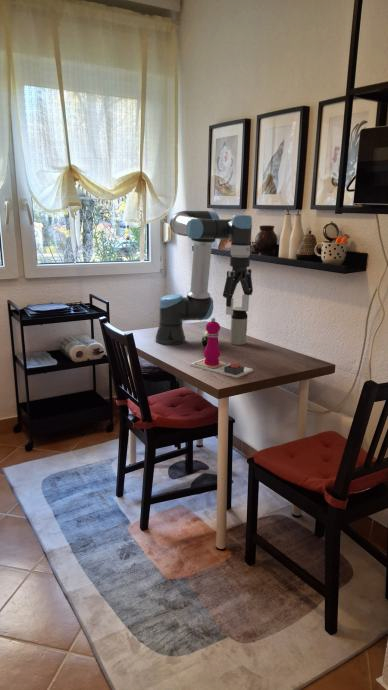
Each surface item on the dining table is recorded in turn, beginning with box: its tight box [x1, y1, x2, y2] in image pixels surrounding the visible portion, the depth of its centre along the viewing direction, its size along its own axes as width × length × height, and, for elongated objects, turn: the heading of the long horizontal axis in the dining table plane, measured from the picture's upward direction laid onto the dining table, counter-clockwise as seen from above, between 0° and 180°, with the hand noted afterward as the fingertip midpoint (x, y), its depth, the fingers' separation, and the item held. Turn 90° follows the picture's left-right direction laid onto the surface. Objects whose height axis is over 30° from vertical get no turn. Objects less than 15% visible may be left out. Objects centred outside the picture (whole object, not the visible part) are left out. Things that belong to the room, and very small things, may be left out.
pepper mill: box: [203, 317, 221, 365], centre depth 214 cm, size 7×7×20 cm
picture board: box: [189, 357, 254, 379], centre depth 214 cm, size 12×24×3 cm, turn 51°
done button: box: [229, 361, 240, 369], centre depth 206 cm, size 4×4×2 cm
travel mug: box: [229, 306, 248, 346], centre depth 253 cm, size 8×8×18 cm
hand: (237, 312), depth 200 cm, fingers open, 10 cm apart
